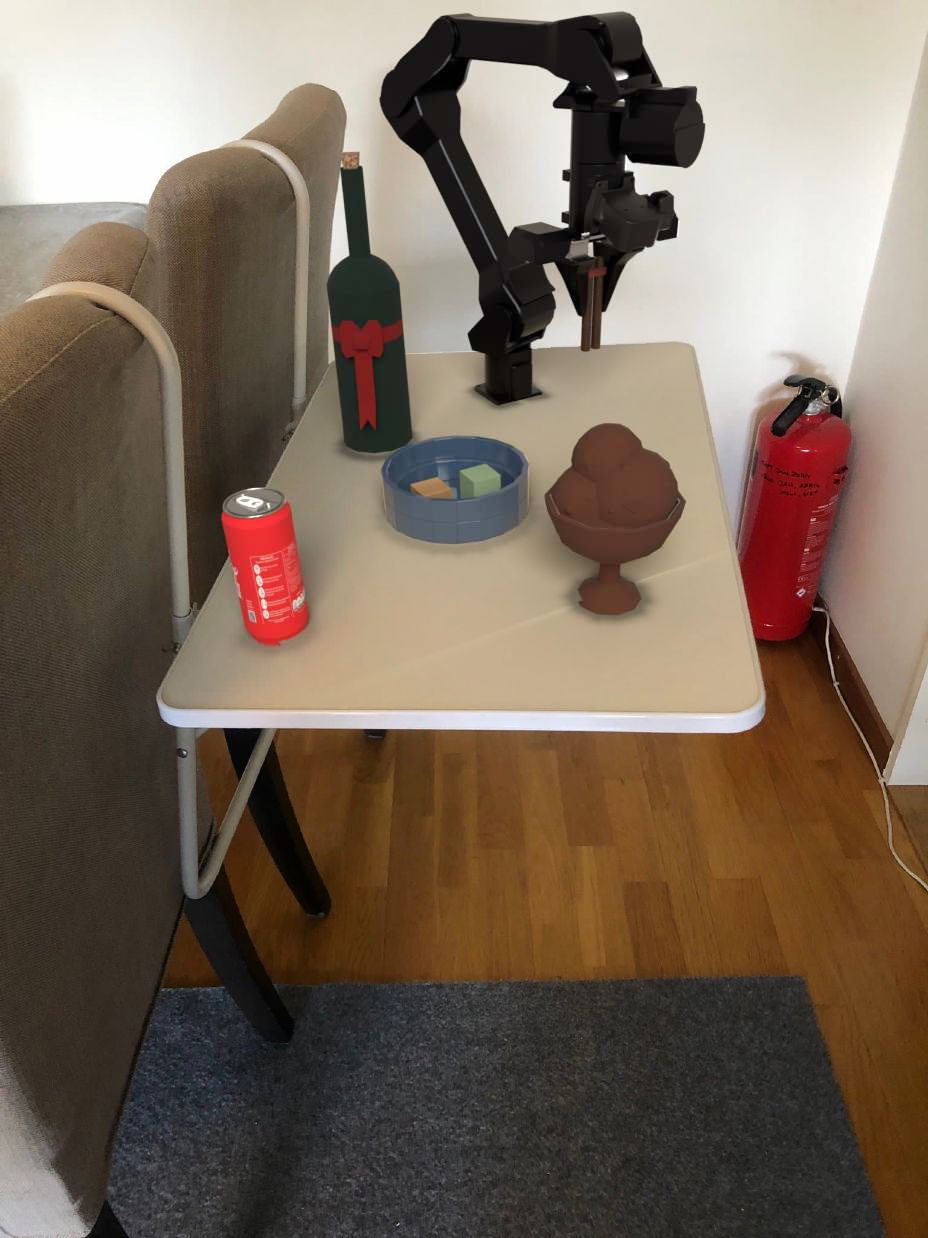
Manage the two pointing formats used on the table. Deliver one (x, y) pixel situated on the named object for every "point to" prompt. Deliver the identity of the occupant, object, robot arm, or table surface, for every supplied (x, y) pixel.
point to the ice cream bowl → (613, 510)
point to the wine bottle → (367, 332)
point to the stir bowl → (455, 489)
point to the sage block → (479, 481)
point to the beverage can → (265, 564)
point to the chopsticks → (593, 307)
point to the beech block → (432, 489)
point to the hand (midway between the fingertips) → (591, 313)
